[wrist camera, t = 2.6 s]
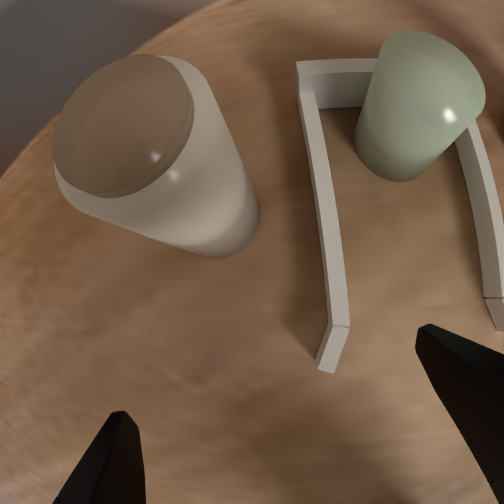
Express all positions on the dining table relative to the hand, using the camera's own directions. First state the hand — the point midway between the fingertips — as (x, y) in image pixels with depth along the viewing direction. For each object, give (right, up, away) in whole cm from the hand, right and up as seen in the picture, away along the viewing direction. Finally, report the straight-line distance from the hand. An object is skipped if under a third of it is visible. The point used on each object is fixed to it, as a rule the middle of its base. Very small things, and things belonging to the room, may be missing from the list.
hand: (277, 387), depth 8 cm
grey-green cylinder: (+10, +12, +13) cm, 20 cm away
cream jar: (-3, +6, +14) cm, 15 cm away
